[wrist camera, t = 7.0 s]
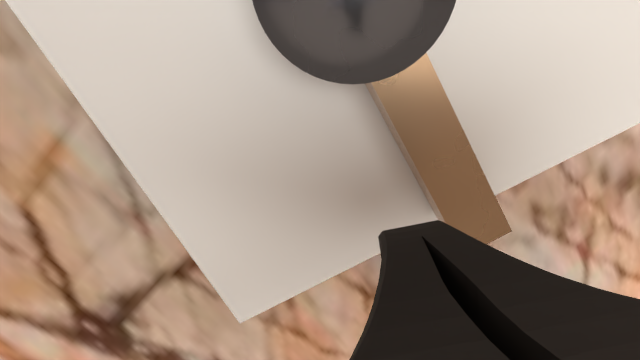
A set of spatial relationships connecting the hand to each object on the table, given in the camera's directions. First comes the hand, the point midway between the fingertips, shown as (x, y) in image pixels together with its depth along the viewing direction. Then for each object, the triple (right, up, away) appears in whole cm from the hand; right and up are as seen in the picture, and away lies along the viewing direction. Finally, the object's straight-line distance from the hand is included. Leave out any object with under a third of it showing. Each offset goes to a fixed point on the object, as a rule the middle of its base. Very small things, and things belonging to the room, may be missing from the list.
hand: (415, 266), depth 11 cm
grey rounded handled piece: (0, +5, +5) cm, 7 cm away
